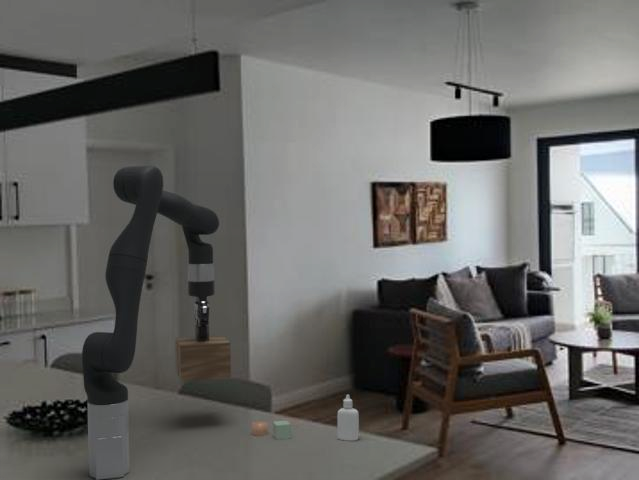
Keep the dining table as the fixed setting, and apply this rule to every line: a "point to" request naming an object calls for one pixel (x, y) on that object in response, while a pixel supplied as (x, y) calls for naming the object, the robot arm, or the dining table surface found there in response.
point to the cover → (203, 357)
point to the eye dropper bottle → (348, 421)
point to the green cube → (281, 429)
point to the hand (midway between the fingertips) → (202, 338)
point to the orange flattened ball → (259, 428)
